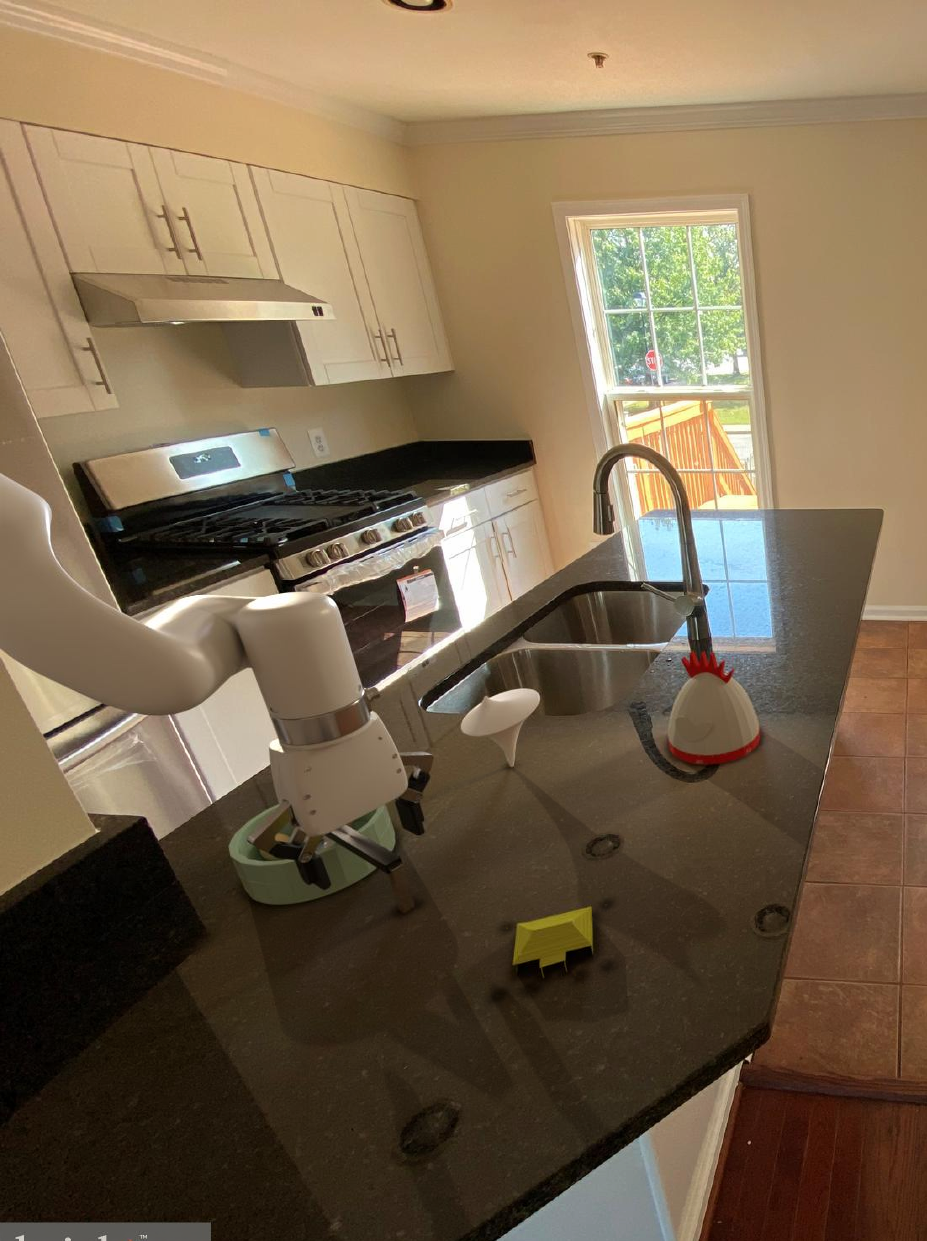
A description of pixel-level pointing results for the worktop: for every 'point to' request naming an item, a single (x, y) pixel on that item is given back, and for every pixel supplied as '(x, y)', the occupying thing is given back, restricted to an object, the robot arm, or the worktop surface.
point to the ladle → (374, 860)
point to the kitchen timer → (711, 715)
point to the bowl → (282, 875)
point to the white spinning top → (501, 718)
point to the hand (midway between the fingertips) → (369, 856)
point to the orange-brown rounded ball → (279, 838)
